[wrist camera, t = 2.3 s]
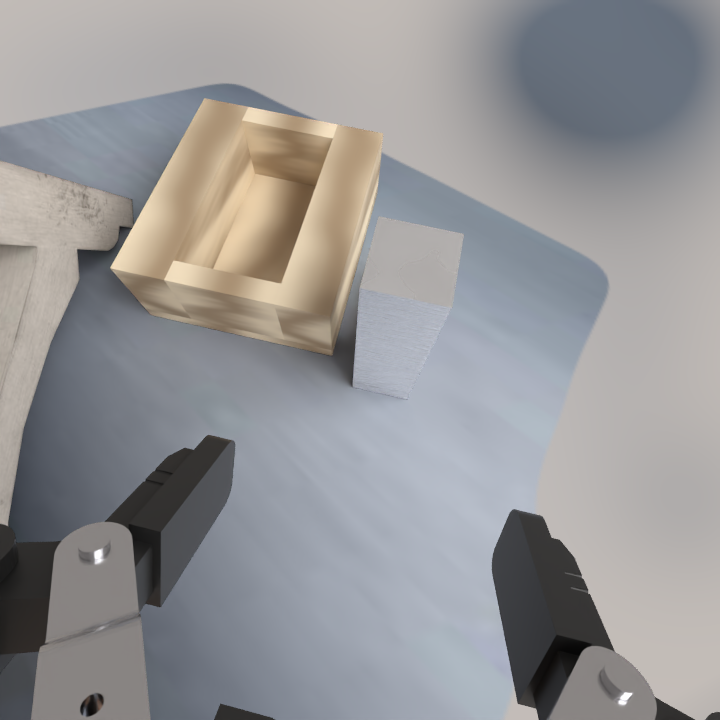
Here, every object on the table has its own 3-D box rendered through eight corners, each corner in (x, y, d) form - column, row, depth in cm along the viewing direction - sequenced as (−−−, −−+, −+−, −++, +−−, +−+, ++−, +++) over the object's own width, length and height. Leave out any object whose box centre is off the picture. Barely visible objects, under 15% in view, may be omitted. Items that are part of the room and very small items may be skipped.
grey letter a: (105, 523, 41) (78, 196, 34) (150, 525, 41) (132, 199, 34) (-183, 816, 19) (-411, 73, 12) (-85, 819, 19) (-260, 84, 12)
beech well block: (151, 315, 31) (110, 268, 26) (224, 162, 37) (204, 98, 32) (332, 355, 31) (330, 316, 25) (377, 193, 37) (383, 133, 31)
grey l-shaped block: (352, 387, 30) (359, 287, 18) (380, 272, 34) (402, 128, 22) (407, 399, 30) (452, 307, 18) (429, 283, 33) (478, 142, 21)
